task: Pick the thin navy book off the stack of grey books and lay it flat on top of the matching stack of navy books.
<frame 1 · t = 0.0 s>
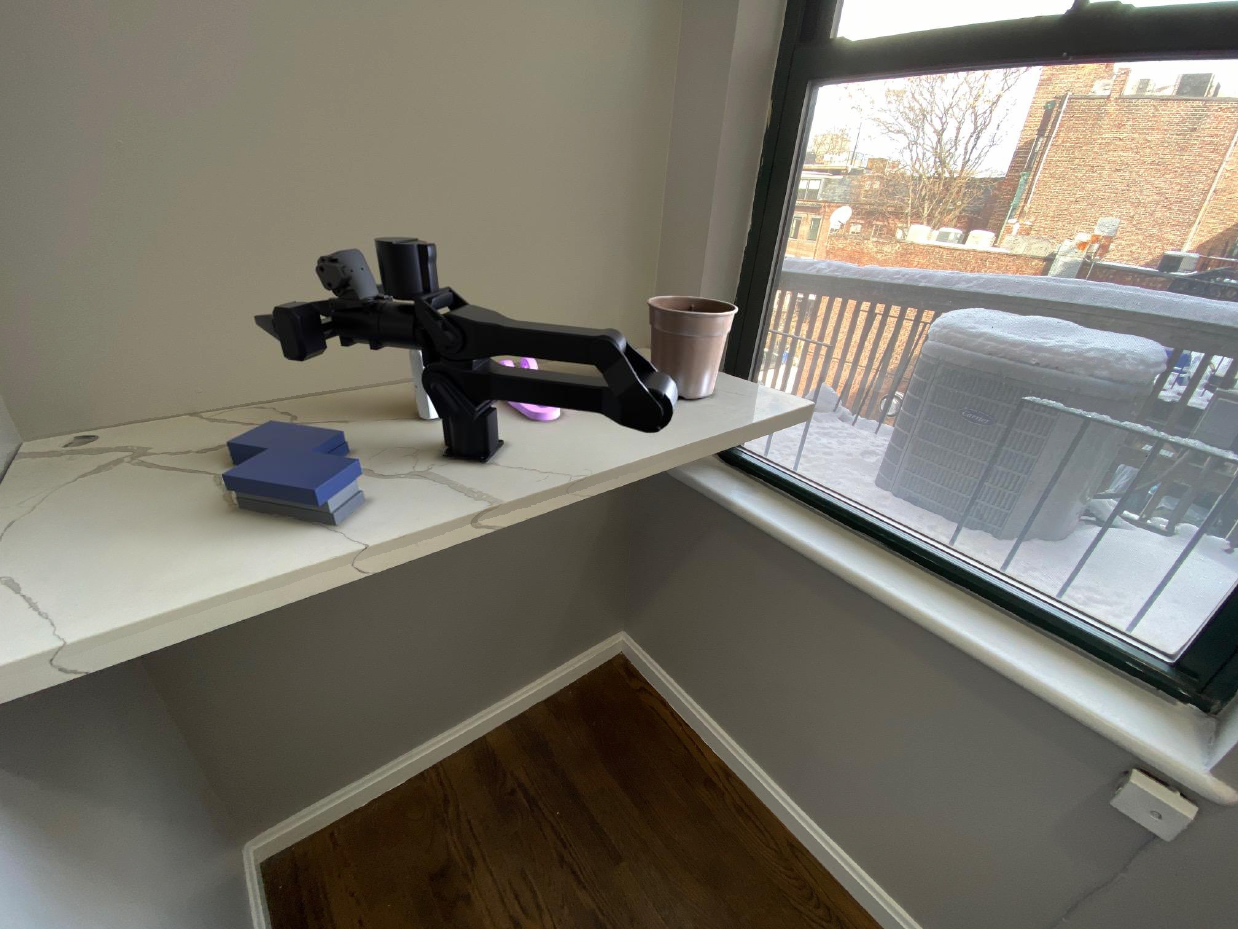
hand: (284, 312, 67), 17 cm above the worktop, tool horizontal, fingers open, 9 cm apart
navy books: (293, 458, 66), on the worktop
bracket: (532, 407, 87), on the worktop
navy book: (297, 482, 56), point 3 cm above the worktop, touching grey books
plant pot: (681, 389, 99), on the worktop
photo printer: (449, 411, 83), on the worktop
grey books: (303, 504, 57), on the worktop
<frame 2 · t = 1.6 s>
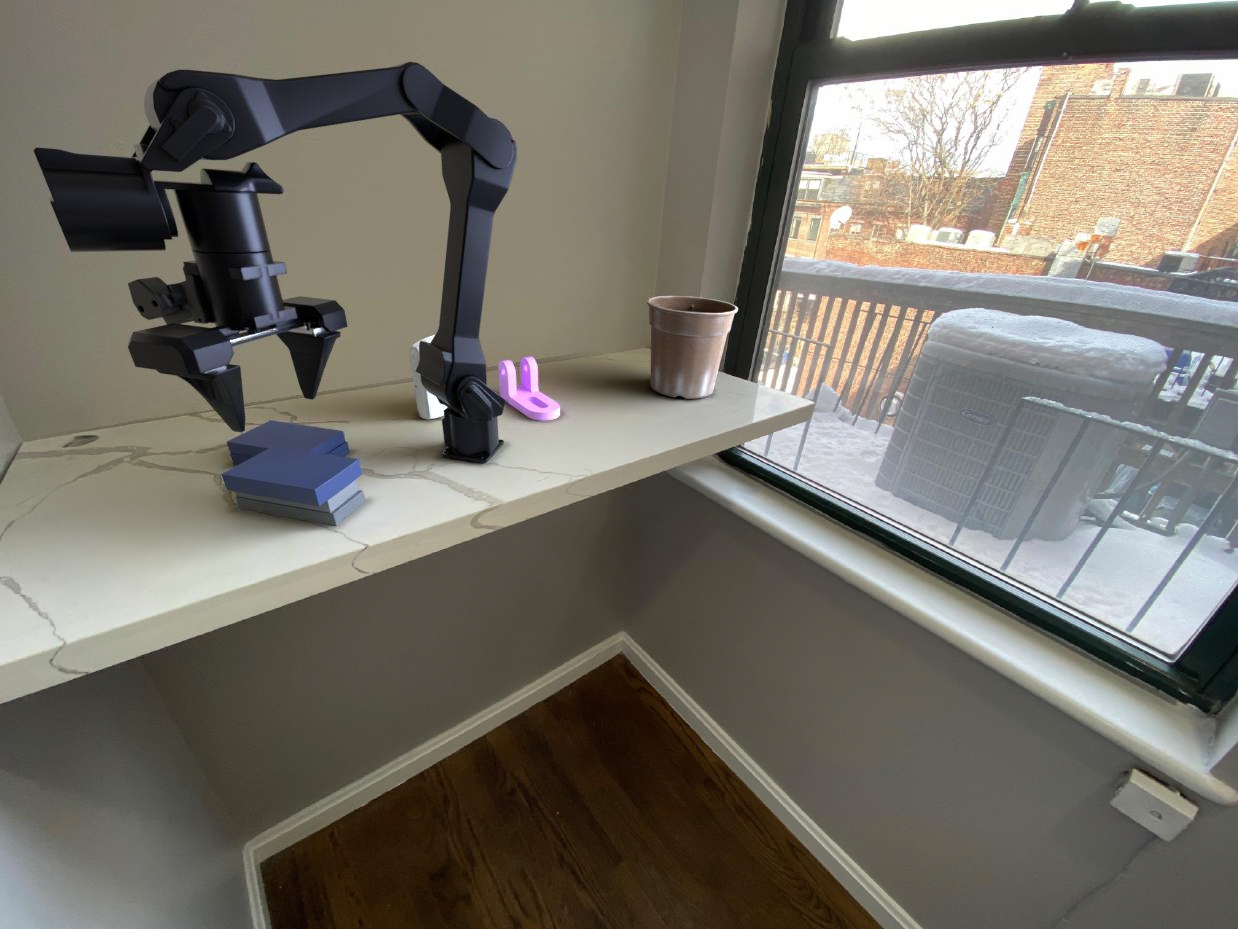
hand: (277, 413, 52), 11 cm above the worktop, tool pointing down, fingers open, 9 cm apart
nothing on the worktop moved.
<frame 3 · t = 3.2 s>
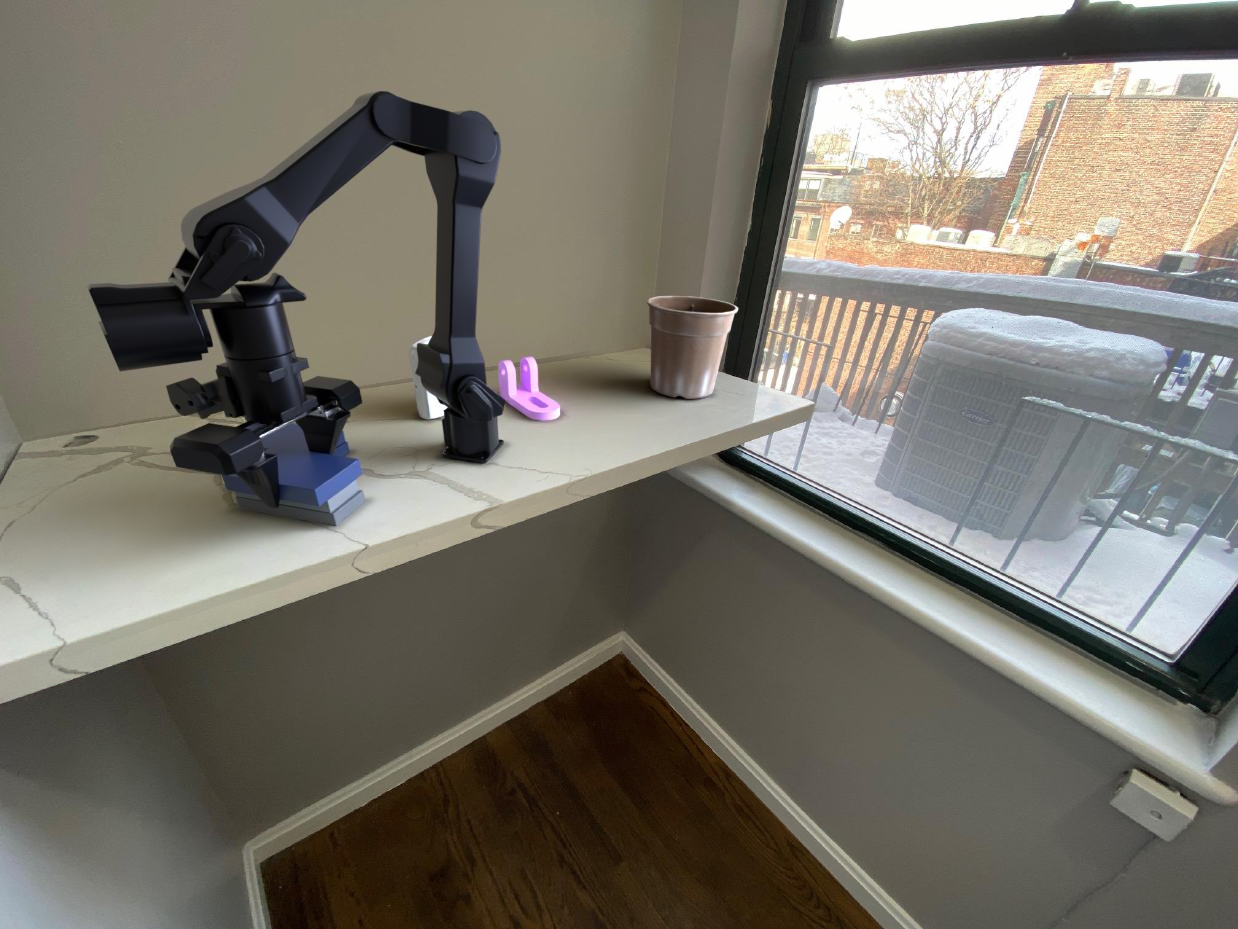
hand: (299, 489, 56), 2 cm above the worktop, tool pointing down, fingers closed on navy book, 7 cm apart
navy book: (297, 482, 56), point 3 cm above the worktop, touching grey books, gripper
everything else where it was.
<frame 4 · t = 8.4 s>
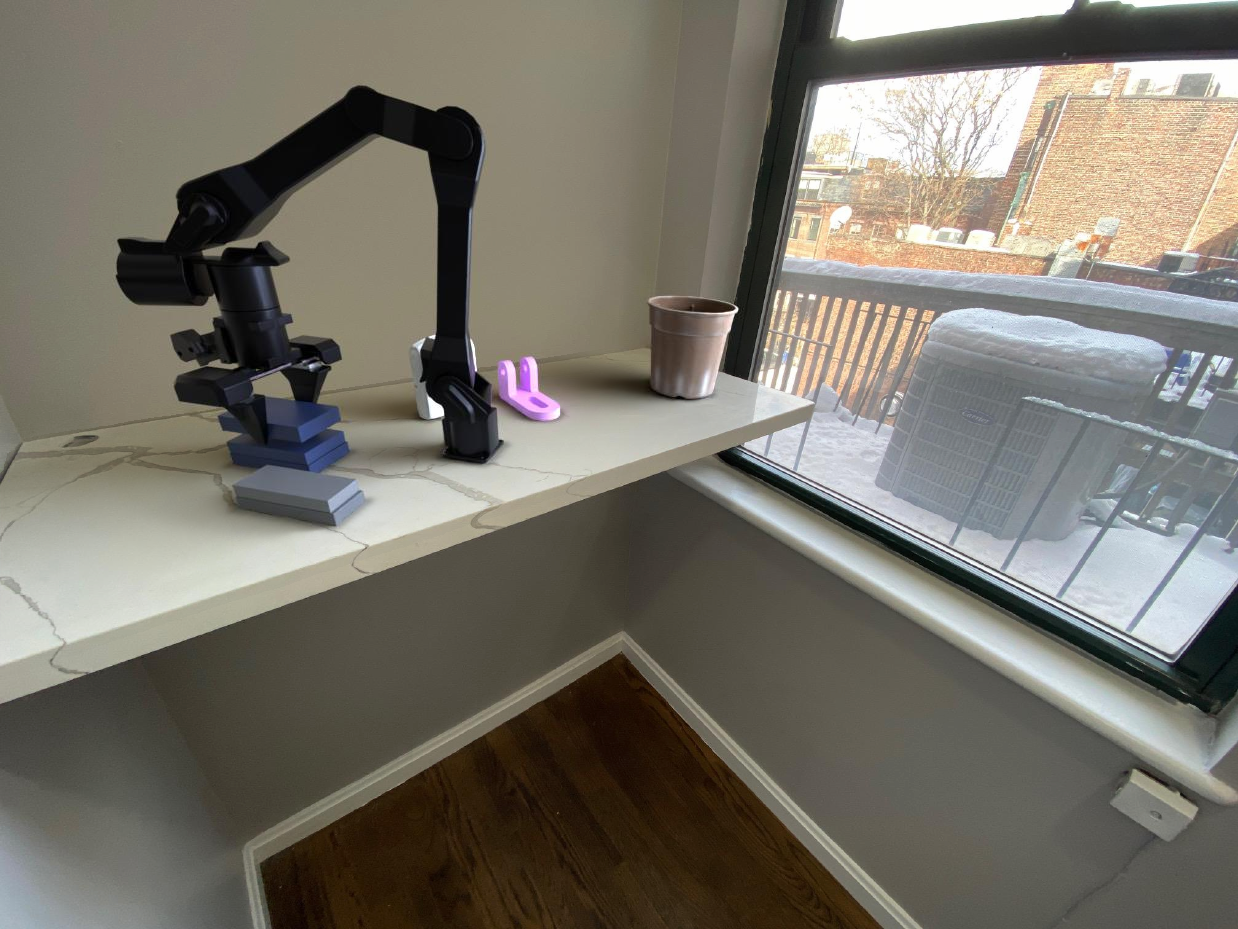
hand: (286, 432, 65), 4 cm above the worktop, tool pointing down, fingers closed on navy book, 7 cm apart
navy book: (283, 425, 64), point 5 cm above the worktop, touching gripper
everything else where it was.
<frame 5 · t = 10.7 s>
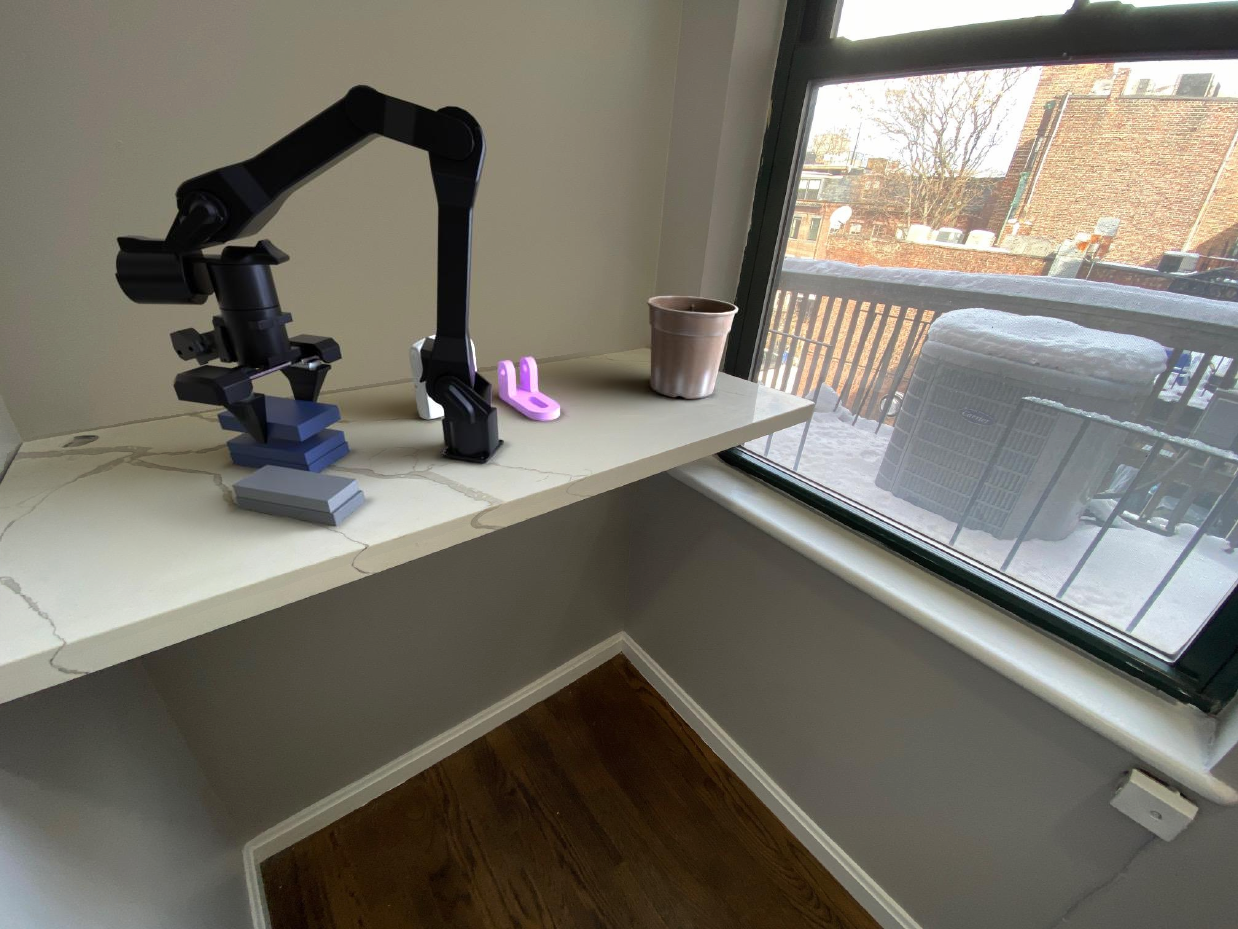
hand: (285, 431, 65), 4 cm above the worktop, tool pointing down, fingers closed on navy book, 7 cm apart
navy book: (283, 424, 64), point 5 cm above the worktop, touching gripper
everything else where it was.
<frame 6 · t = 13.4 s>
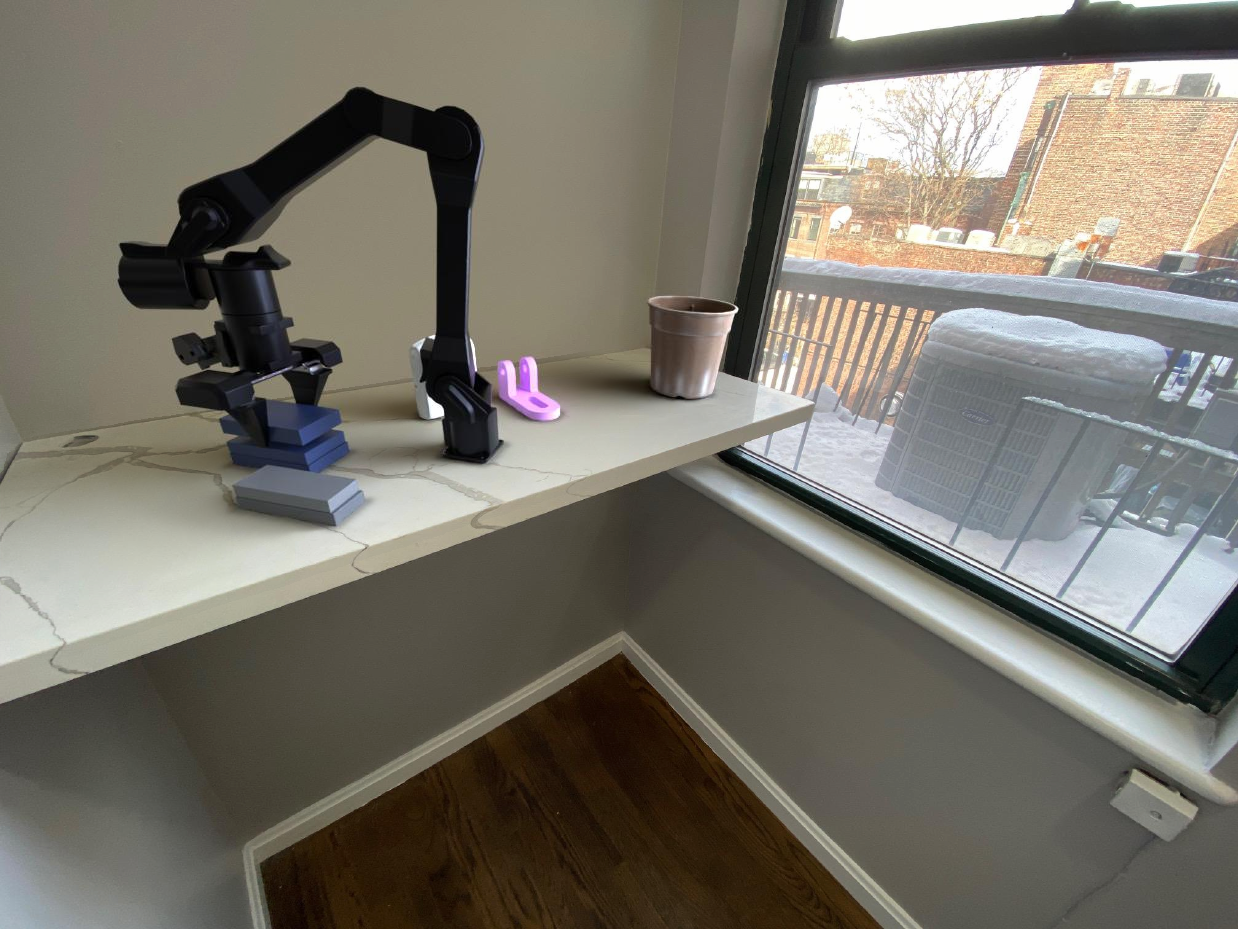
hand: (287, 435, 65), 3 cm above the worktop, tool pointing down, fingers closed on navy book, 7 cm apart
navy book: (284, 428, 64), point 4 cm above the worktop, touching gripper
everything else where it was.
when the fingers open (4 cm above the worktop, at t = 15.0 s): navy book stays where it is, resting on navy books.
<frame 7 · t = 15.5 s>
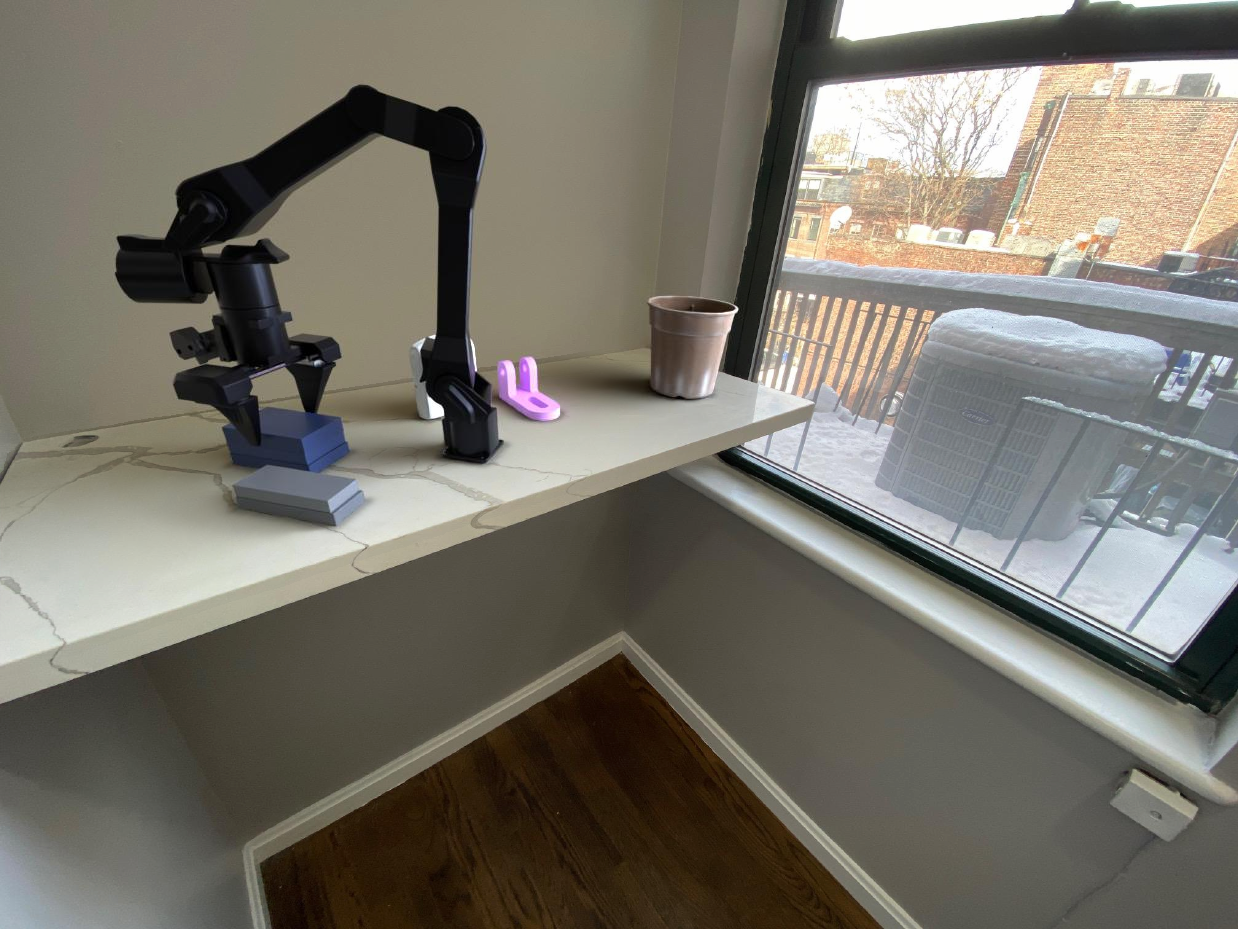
hand: (285, 430, 65), 4 cm above the worktop, tool pointing down, fingers open, 9 cm apart
navy book: (287, 436, 65), point 3 cm above the worktop, touching navy books
everything else where it was.
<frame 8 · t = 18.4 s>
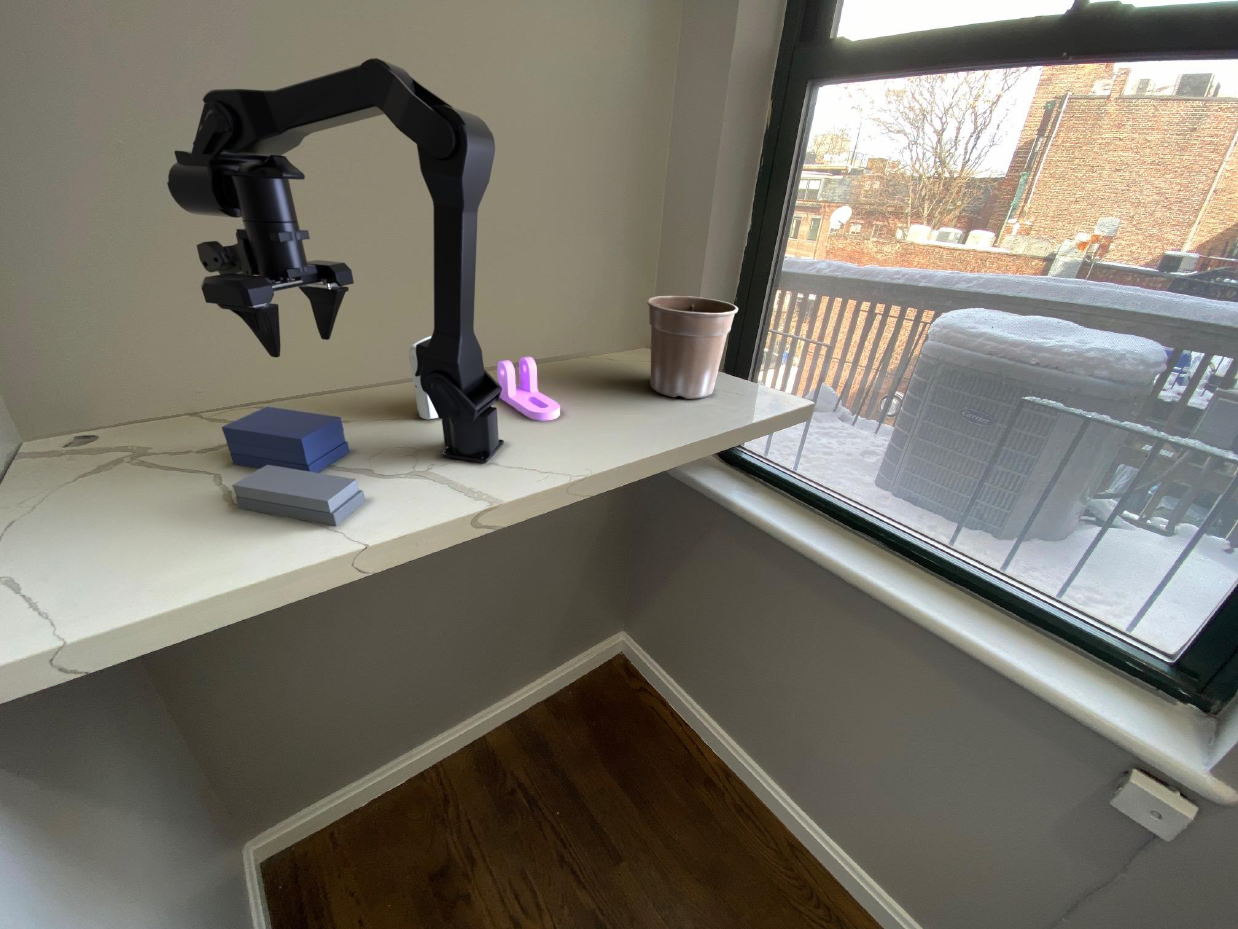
hand: (301, 347, 69), 12 cm above the worktop, tool pointing down, fingers open, 9 cm apart
nothing on the worktop moved.
at the end: navy book 0.0 cm off-centre on the navy books, point 3.2 cm above the navy books's base; navy book tilted 0°; navy book touching navy books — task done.
